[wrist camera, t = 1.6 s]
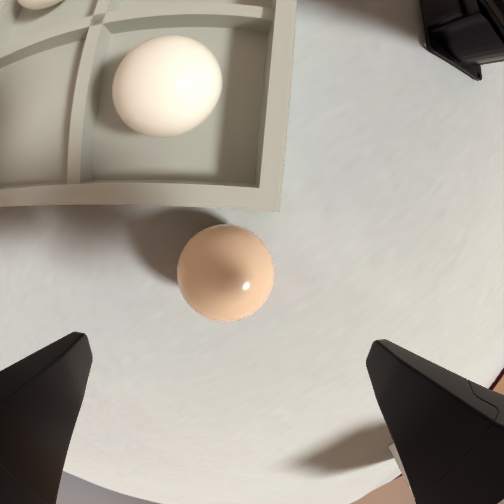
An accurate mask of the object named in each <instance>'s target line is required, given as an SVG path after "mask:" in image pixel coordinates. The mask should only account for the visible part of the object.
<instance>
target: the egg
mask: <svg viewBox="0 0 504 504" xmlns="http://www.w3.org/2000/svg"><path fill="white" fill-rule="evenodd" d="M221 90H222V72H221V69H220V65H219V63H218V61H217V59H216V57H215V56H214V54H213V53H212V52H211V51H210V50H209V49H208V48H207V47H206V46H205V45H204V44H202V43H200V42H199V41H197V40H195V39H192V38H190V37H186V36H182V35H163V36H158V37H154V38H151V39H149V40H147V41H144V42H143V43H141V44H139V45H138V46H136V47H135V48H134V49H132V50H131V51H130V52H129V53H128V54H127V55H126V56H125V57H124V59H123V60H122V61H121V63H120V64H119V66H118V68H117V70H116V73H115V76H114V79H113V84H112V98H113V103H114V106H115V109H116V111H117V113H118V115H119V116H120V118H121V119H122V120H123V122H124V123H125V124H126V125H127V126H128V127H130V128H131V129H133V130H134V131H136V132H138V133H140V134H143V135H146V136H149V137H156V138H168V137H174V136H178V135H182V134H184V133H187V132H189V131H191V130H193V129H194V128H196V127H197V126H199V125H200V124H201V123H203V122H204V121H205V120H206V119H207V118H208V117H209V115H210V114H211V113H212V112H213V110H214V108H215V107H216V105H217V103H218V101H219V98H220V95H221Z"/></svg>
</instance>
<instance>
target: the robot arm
mask: <svg viewBox="0 0 504 504" xmlns="http://www.w3.org/2000/svg"><path fill="white" fill-rule="evenodd" d="M420 4H421V10H422V15H423V21H424V28H425V35H426V44H427V47H428V49H429V50H430V51H431V52H432V53H434V54H436V55H437V56H439V57H441V58H443V59H444V60H446V61H448V62H449V63H451V64H452V65H454V66H456V67H457V68H459V69H460V70H462V71H463V72H465V73H466V74H468V75H469V76H471V77H472V78H474V79H475V80H477V81H479V80H482V74H481V66H480V65H483V64H489V63H495V62H502V61H504V0H420ZM91 364H92V352H91V348H90V345H89V341H88V338H87V335H86V334H85V333H80V332H72V333H70V334H68V335H67V336H65V337H63V338H61V339H59V340H57V341H55V342H53V343H52V344H50V345H48V346H46V347H44V348H42V349H40V350H39V351H37V352H35V353H33V354H31V355H29V356H27V357H26V358H24V359H22V360H20V361H18V362H16V363H14V364H13V365H11V366H9V367H7V368H5V369H4V370H2V371H0V504H56V499H57V494H58V489H59V484H60V479H61V475H62V471H63V467H64V463H65V459H66V455H67V451H68V447H69V444H70V440H71V437H72V433H73V430H74V427H75V423H76V420H77V417H78V414H79V411H80V408H81V405H82V401H83V398H84V393H85V389H86V385H87V380H88V376H89V372H90V368H91ZM366 367H367V370H368V373H369V376H370V380H371V383H372V386H373V389H374V393H375V396H376V399H377V402H378V405H379V407H380V410H381V412H382V414H383V417H384V419H385V422H386V424H387V427H388V429H389V431H390V434H391V436H392V439H393V442H394V444H395V447H396V449H397V452H398V454H399V457H400V460H401V462H402V465H403V468H404V470H405V473H406V476H407V479H408V481H409V484H410V487H411V490H412V493H413V496H414V498H415V502H416V504H504V395H503V394H500V393H497V392H495V391H492V390H490V389H487V388H485V387H483V386H481V385H478V384H476V383H474V382H472V381H470V380H467V379H466V378H463V377H461V376H459V375H457V374H455V373H453V372H451V371H449V370H447V369H445V368H443V367H441V366H439V365H437V364H435V363H432V362H430V361H428V360H426V359H424V358H422V357H420V356H418V355H416V354H414V353H412V352H410V351H408V350H406V349H404V348H402V347H400V346H398V345H396V344H394V343H392V342H390V341H388V340H386V339H382V340H376V341H374V342H373V344H372V346H371V349H370V351H369V354H368V357H367V359H366Z"/></svg>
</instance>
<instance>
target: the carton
mask: <svg viewBox="0 0 504 504" xmlns="http://www.w3.org/2000/svg"><path fill="white" fill-rule="evenodd" d="M296 6H297V0H62V1H61V2H59V3H57V4H55V5H53V6H51V7H48V8H44V9H39V10H32V9H27V8H25V7H23V6H21V5H20V4H19V3H18V1H17V0H0V207H12V206H38V205H155V206H185V207H207V208H226V209H243V210H258V211H272V212H279V211H280V202H281V192H282V182H283V172H284V162H285V152H286V141H287V130H288V119H289V107H290V95H291V82H292V69H293V55H294V40H295V24H296ZM163 35H182V36H186V37H190V38H192V39H195V40H197V41H199V42H200V43H202V44H204V45H205V46H206V47H207V48H208V49H209V50H210V51H211V52H212V53H213V54H214V56H215V57H216V59H217V61H218V63H219V65H220V69H221V72H222V90H221V95H220V98H219V101H218V103H217V105H216V107H215V108H214V110H213V112H212V113H211V114H210V115H209V117H208V118H207V119H206V120H205V121H204V122H203V123H201V124H200V125H199V126H197V127H196V128H194V129H193V130H191V131H189V132H187V133H184V134H182V135H178V136H174V137H168V138H156V137H149V136H146V135H143V134H140V133H138V132H136V131H134V130H133V129H131V128H130V127H128V126H127V125H126V124H125V123H124V122H123V120H122V119H121V118H120V116H119V115H118V113H117V111H116V109H115V106H114V103H113V98H112V84H113V79H114V76H115V73H116V70H117V68H118V66H119V64H120V63H121V61H122V60H123V59H124V57H125V56H126V55H127V54H128V53H129V52H130V51H131V50H132V49H134V48H135V47H136V46H138V45H139V44H141V43H143V42H144V41H147V40H149V39H151V38H154V37H158V36H163Z"/></svg>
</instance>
